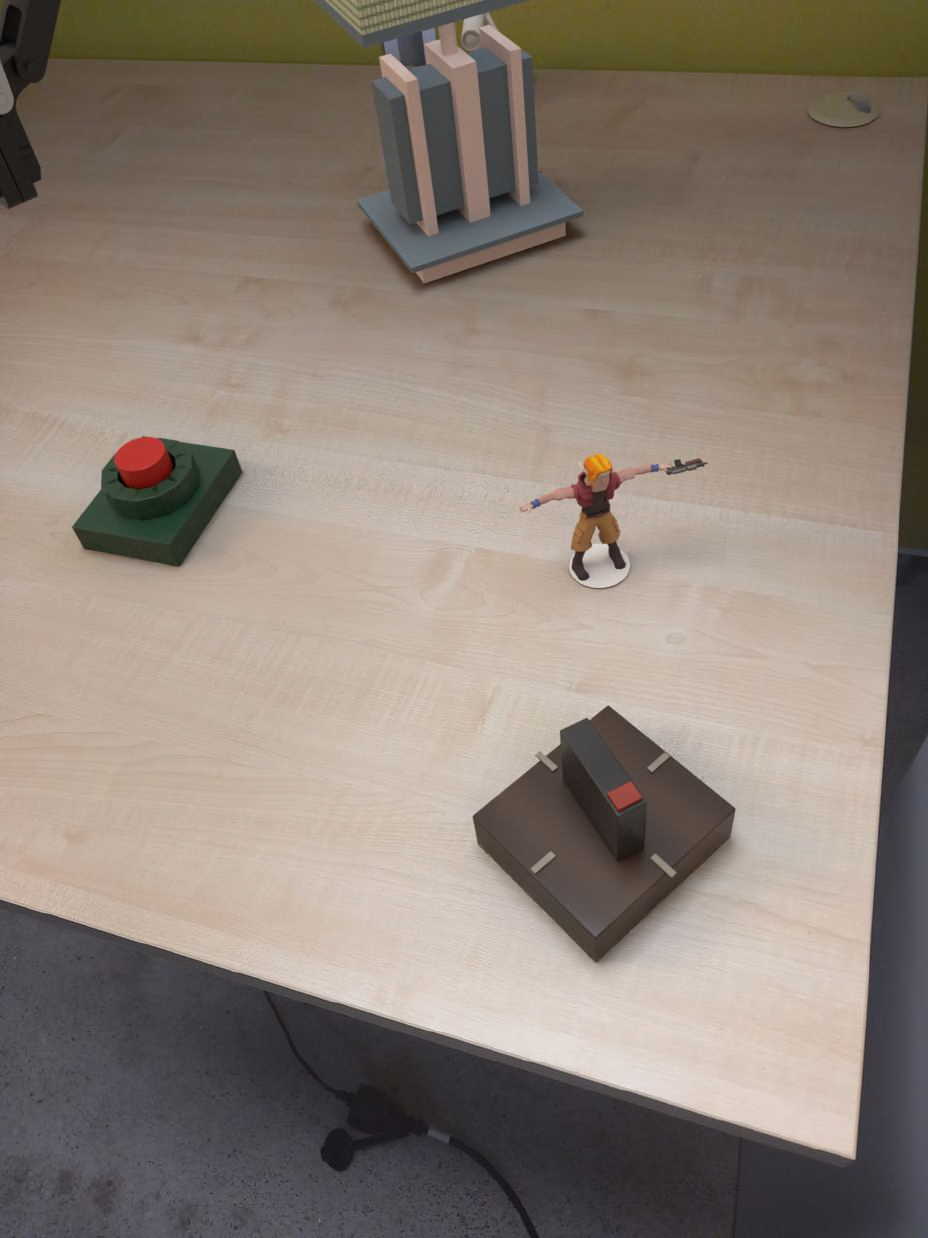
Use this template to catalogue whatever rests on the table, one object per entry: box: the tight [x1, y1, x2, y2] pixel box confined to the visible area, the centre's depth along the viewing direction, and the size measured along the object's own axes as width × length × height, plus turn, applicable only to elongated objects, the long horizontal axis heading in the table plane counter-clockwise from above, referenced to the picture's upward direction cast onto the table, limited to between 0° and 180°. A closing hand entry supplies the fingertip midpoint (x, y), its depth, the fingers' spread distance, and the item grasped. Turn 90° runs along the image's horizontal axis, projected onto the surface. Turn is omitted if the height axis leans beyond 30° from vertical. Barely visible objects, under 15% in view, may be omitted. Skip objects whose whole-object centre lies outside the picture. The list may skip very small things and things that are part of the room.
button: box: [114, 436, 173, 489], centre depth 72 cm, size 4×4×2 cm
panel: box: [471, 705, 737, 963], centre depth 53 cm, size 10×10×3 cm
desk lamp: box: [313, 0, 585, 284], centre depth 84 cm, size 18×14×33 cm
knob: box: [559, 717, 647, 861], centre depth 50 cm, size 6×2×5 cm, turn 26°
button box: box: [71, 435, 243, 567], centre depth 74 cm, size 10×8×4 cm
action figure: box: [518, 453, 708, 589], centre depth 64 cm, size 12×3×9 cm, turn 107°
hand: (15, 197), depth 46 cm, fingers closed
